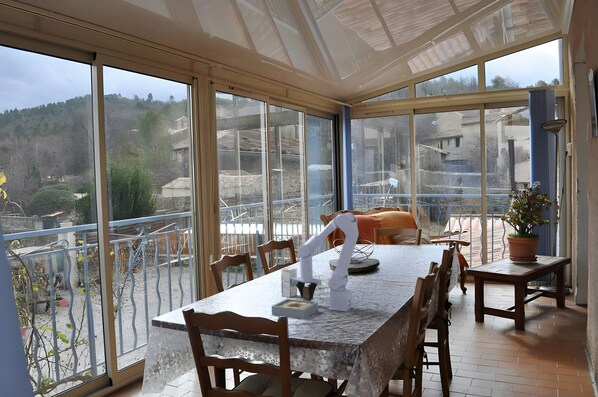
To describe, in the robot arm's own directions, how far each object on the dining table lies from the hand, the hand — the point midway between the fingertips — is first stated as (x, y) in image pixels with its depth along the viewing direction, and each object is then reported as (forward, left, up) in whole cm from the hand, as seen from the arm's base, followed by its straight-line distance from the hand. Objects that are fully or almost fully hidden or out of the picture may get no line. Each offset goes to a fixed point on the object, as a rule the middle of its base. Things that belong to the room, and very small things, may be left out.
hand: (307, 298), depth 235 cm
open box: (-1, +14, -3) cm, 14 cm away
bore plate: (-1, +14, -3) cm, 14 cm away
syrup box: (+16, -12, -3) cm, 20 cm away
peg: (0, 0, -3) cm, 3 cm away
